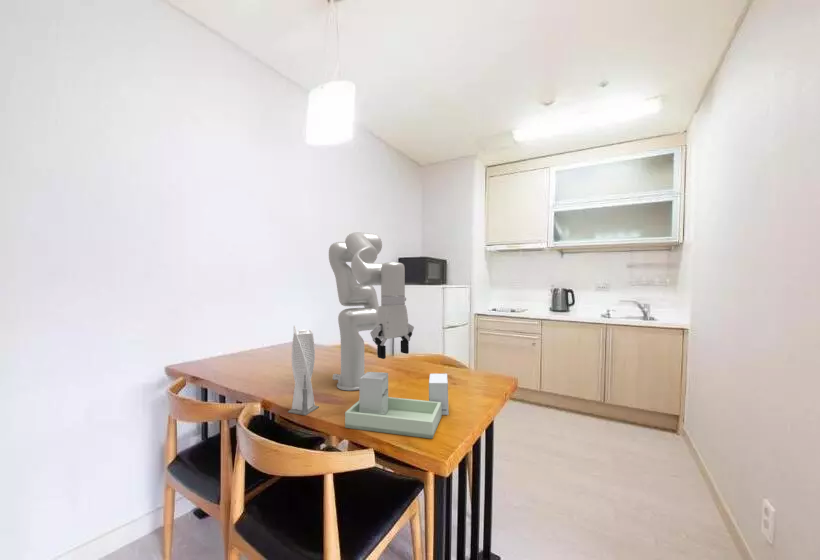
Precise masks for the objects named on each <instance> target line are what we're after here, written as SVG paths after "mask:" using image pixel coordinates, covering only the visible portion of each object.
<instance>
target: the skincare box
mask: <svg viewBox="0 0 820 560" xmlns="http://www.w3.org/2000/svg"><path fill="white" fill-rule="evenodd" d="M428 378H429V380H428V401H434V402H442V416H449V415H450V414H449V381H448V373H429V377H428Z"/></svg>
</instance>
